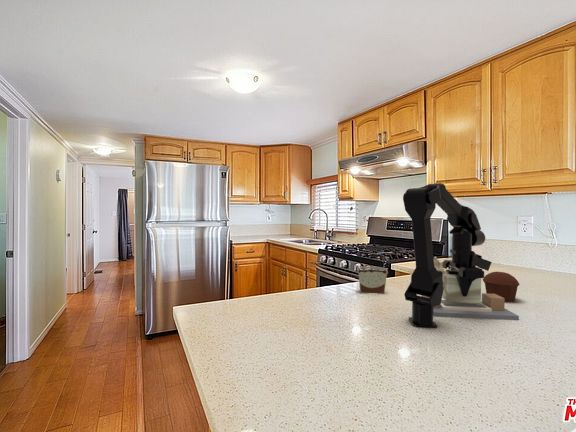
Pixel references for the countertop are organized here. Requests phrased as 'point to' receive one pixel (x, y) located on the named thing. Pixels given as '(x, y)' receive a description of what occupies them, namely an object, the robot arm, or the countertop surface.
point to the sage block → (454, 292)
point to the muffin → (501, 285)
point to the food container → (372, 279)
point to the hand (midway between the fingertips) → (461, 294)
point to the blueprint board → (476, 308)
